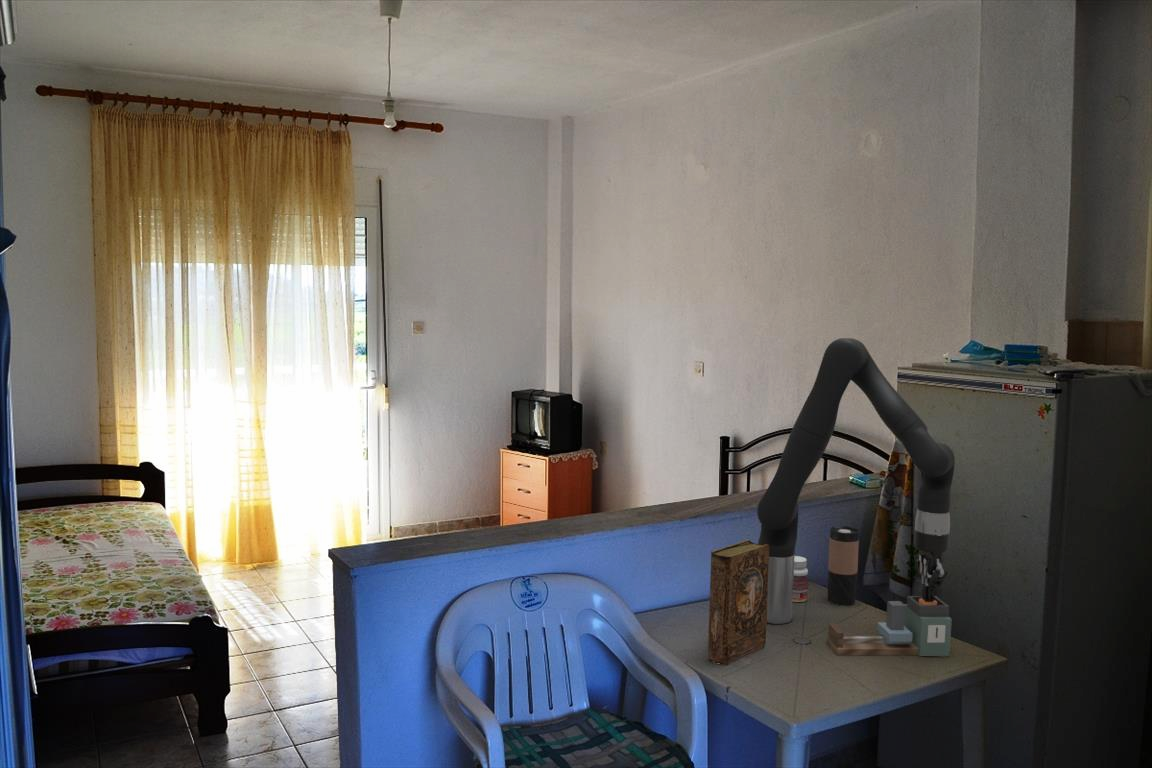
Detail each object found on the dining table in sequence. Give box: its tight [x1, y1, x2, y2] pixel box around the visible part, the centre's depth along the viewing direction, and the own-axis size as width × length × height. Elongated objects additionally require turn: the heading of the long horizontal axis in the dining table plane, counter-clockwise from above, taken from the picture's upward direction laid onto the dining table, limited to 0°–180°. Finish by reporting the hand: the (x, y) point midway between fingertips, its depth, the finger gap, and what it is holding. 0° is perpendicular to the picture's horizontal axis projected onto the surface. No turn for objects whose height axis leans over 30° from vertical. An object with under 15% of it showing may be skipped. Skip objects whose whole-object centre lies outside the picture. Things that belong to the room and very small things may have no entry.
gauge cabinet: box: [903, 595, 953, 658], centre depth 215 cm, size 7×10×12 cm, turn 3°
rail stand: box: [826, 623, 919, 657], centre depth 215 cm, size 19×8×5 cm, turn 93°
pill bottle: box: [793, 555, 809, 603], centre depth 248 cm, size 6×6×11 cm
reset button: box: [919, 598, 937, 605], centre depth 215 cm, size 4×4×2 cm
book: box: [707, 539, 769, 665], centre depth 210 cm, size 16×6×25 cm, turn 134°
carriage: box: [876, 600, 913, 644], centre depth 215 cm, size 6×7×9 cm
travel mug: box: [827, 525, 860, 606], centre depth 246 cm, size 8×8×20 cm
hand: (928, 600), depth 214 cm, fingers closed
